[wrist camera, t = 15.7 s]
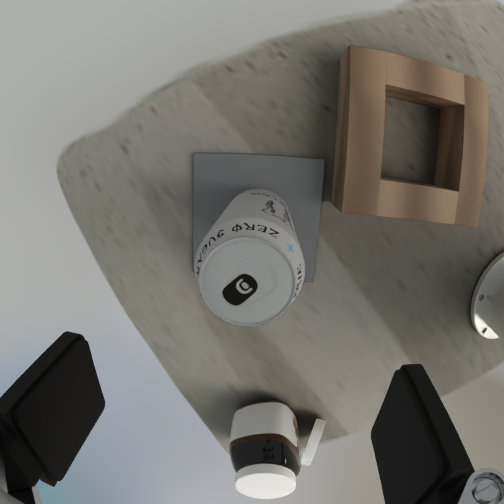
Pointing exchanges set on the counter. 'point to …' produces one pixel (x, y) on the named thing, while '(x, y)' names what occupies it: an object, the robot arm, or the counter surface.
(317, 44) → the counter surface
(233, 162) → the rubber mat
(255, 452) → the spread jar
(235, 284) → the energy drink can
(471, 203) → the walnut frame
